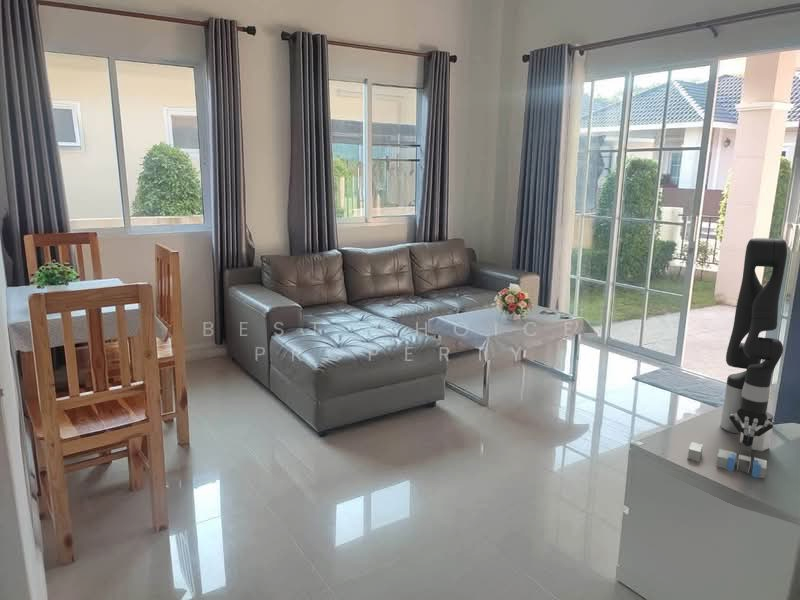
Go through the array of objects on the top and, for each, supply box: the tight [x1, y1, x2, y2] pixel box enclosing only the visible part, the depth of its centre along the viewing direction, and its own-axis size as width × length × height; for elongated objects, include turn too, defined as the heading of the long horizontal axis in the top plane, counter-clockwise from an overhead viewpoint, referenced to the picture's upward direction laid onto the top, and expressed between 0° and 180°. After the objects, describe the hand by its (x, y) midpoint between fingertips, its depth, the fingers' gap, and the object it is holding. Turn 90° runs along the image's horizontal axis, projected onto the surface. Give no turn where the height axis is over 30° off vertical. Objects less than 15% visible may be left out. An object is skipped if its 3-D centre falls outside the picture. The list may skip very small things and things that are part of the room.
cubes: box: [687, 441, 768, 479], centre depth 188 cm, size 7×22×4 cm, turn 56°
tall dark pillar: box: [736, 441, 752, 474], centre depth 190 cm, size 15×3×4 cm, turn 147°
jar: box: [739, 412, 774, 452], centre depth 200 cm, size 9×8×12 cm
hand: (747, 444), depth 190 cm, fingers closed
